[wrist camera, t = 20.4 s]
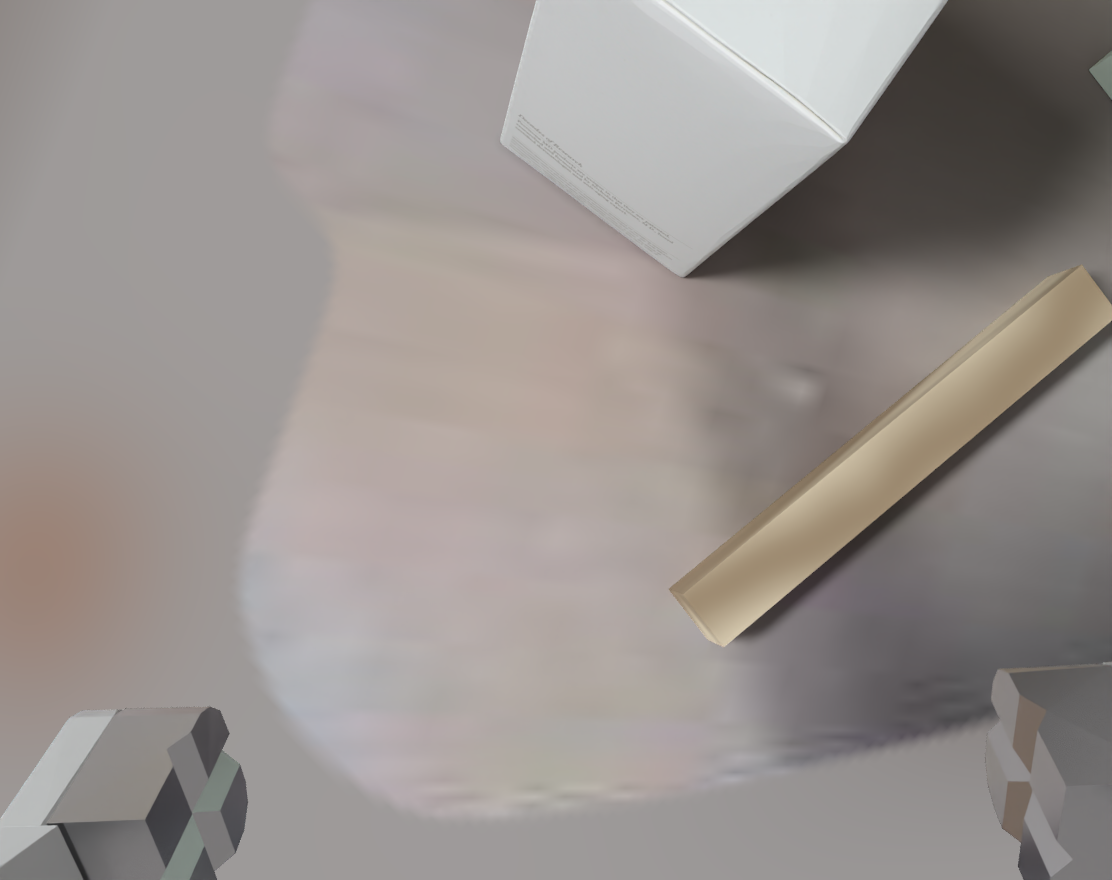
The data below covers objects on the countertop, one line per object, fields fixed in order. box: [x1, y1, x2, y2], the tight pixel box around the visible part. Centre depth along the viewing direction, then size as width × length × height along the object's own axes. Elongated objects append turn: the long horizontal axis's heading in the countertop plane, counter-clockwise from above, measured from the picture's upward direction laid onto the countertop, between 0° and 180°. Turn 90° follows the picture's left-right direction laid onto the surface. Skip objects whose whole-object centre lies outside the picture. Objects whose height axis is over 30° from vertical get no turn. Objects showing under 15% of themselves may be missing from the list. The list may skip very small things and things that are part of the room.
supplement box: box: [500, 0, 948, 277], centre depth 32 cm, size 9×9×15 cm
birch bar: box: [669, 265, 1112, 647], centre depth 39 cm, size 2×20×2 cm, turn 128°
